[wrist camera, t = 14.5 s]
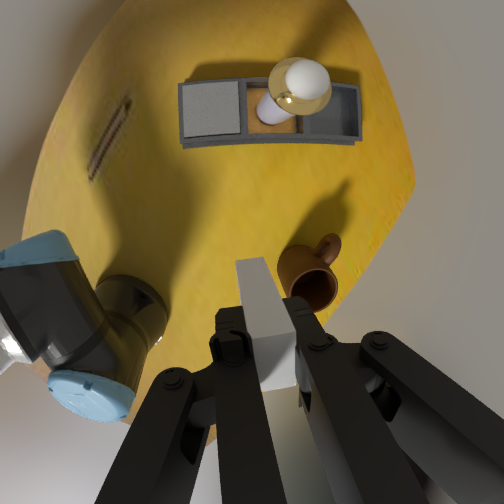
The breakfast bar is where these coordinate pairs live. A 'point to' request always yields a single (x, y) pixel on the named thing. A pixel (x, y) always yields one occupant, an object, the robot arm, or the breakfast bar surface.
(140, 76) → the breakfast bar surface
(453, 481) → the robot arm
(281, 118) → the perfume bottle
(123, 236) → the breakfast bar surface
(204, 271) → the breakfast bar surface
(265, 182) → the breakfast bar surface
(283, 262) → the mug
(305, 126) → the rack
